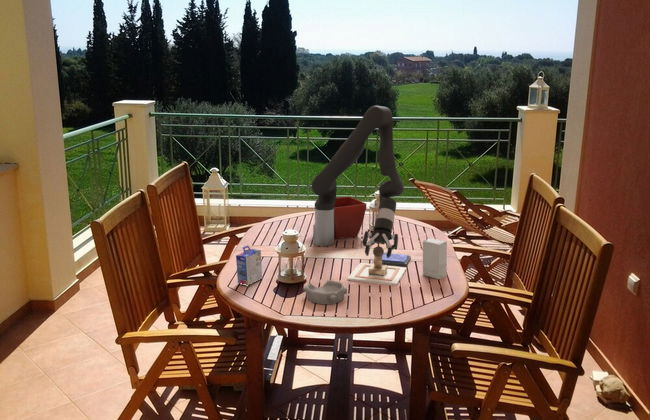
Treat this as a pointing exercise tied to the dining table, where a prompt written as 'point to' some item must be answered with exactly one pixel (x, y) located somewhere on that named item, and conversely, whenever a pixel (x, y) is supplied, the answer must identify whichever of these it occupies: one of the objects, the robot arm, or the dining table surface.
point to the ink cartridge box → (249, 266)
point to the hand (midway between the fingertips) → (377, 256)
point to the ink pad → (396, 259)
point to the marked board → (389, 278)
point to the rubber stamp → (378, 263)
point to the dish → (326, 292)
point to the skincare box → (435, 258)
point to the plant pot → (348, 217)
